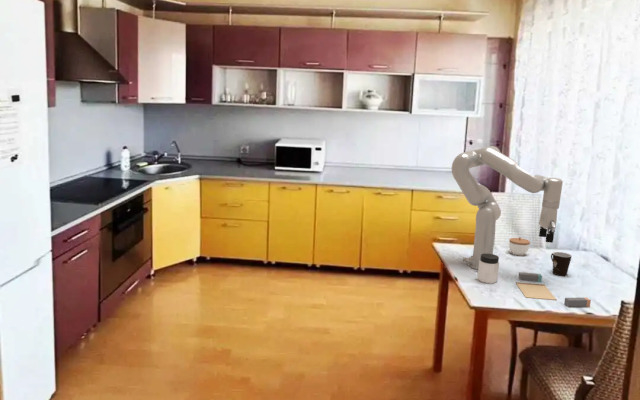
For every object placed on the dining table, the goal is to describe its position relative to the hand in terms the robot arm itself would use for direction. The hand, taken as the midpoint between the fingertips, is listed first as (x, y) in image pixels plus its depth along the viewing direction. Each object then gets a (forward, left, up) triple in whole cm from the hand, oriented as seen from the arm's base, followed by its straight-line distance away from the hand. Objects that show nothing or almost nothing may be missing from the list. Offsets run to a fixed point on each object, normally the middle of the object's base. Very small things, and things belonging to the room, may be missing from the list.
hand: (545, 239), depth 271 cm
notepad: (-7, -20, -20) cm, 29 cm away
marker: (-6, -4, -20) cm, 21 cm away
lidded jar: (-1, +41, -20) cm, 46 cm away
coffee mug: (+12, +11, -20) cm, 26 cm away
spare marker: (+6, -34, -20) cm, 39 cm away
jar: (-27, -10, -20) cm, 35 cm away
